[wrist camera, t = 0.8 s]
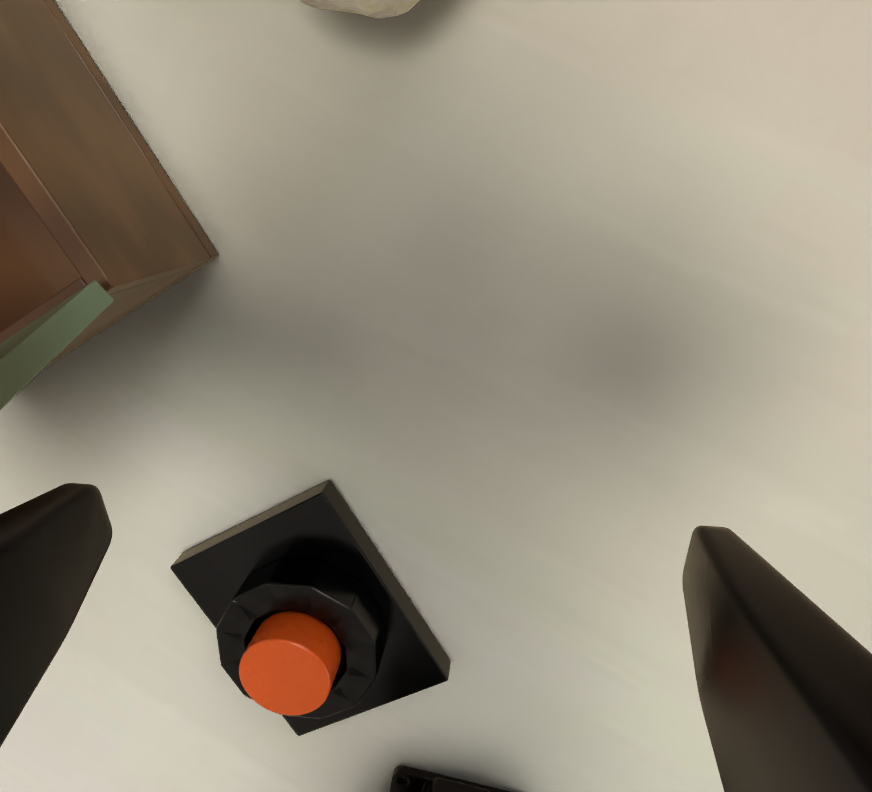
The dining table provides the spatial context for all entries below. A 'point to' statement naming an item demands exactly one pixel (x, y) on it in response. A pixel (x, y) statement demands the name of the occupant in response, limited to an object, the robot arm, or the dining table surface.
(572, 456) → the dining table surface
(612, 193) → the dining table surface
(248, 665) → the button
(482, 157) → the dining table surface
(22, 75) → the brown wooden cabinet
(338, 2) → the animal skull
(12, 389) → the sage green panel
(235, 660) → the black button base
